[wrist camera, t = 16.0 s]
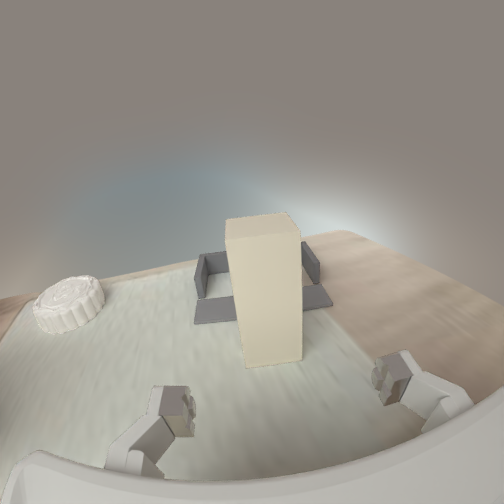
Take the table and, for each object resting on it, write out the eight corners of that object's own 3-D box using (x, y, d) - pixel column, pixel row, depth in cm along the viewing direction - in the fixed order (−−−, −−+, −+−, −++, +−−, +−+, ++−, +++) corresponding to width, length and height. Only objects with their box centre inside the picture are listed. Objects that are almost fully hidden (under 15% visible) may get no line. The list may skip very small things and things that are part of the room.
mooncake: (100, 327, 30) (90, 303, 28) (31, 340, 26) (19, 319, 25) (110, 285, 40) (103, 265, 39) (51, 299, 37) (44, 281, 35)
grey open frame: (194, 324, 29) (188, 301, 28) (203, 272, 41) (199, 254, 40) (332, 305, 30) (334, 282, 28) (305, 259, 41) (304, 241, 40)
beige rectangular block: (245, 368, 22) (224, 240, 18) (243, 333, 27) (225, 219, 22) (302, 360, 23) (300, 230, 18) (291, 327, 27) (286, 212, 23)
